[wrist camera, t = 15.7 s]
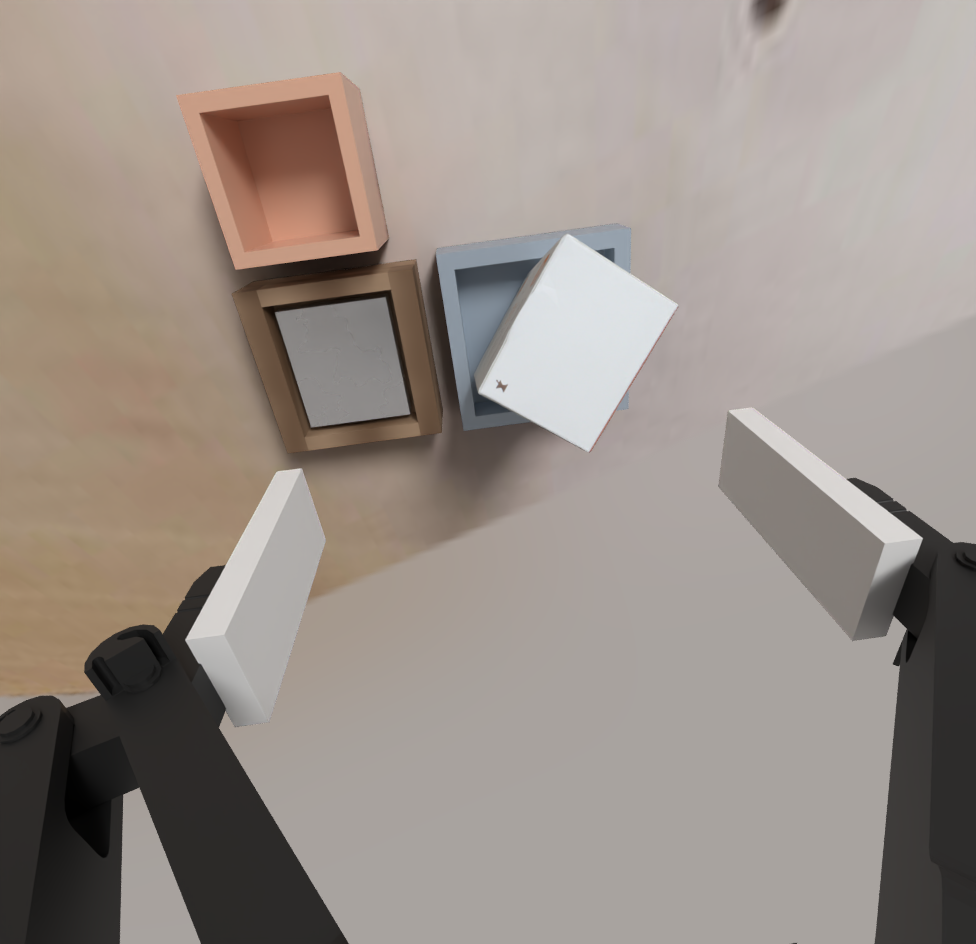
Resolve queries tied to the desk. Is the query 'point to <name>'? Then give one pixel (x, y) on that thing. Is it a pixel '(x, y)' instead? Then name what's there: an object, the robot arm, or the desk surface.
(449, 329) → the tray
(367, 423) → the brown wooden square tray
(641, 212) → the desk surface
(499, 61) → the desk surface
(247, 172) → the pink open box
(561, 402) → the small box
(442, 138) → the desk surface
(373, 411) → the plate
